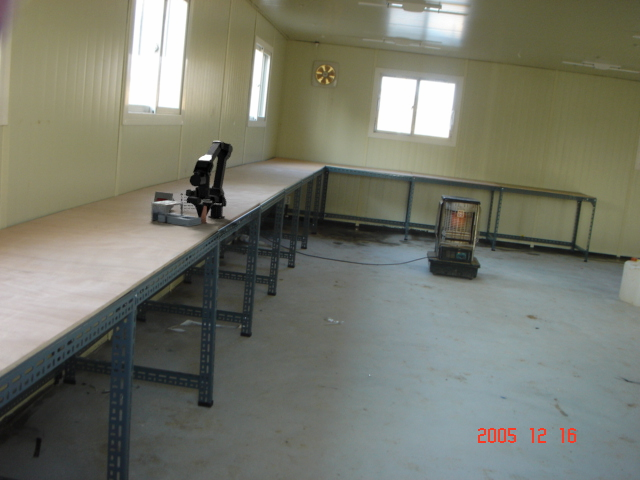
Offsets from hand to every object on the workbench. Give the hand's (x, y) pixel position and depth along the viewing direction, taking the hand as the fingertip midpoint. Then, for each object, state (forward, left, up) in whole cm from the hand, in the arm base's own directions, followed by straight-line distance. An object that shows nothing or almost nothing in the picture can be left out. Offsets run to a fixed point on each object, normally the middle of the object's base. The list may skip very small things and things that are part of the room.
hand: (202, 216), depth 287 cm
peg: (0, 0, -3) cm, 3 cm away
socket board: (+8, -7, -3) cm, 11 cm away
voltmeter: (-19, -30, -3) cm, 36 cm away
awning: (+8, -15, -3) cm, 18 cm away
